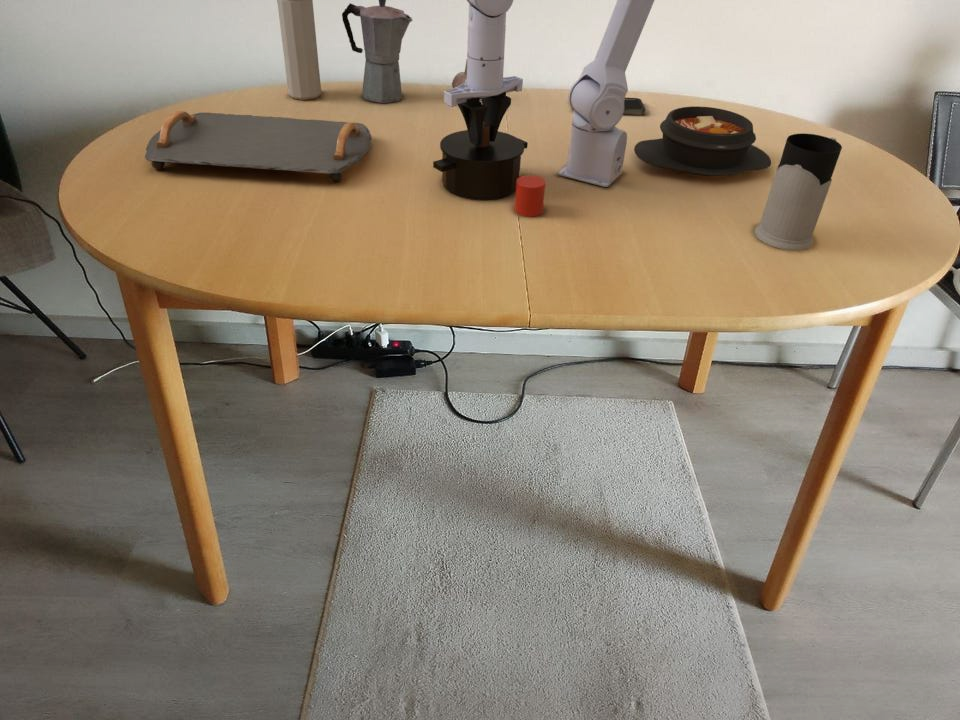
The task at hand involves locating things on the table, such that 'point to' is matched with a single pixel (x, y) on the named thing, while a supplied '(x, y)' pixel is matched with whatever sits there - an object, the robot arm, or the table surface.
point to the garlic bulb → (460, 78)
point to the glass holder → (798, 191)
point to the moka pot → (380, 49)
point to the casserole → (704, 143)
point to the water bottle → (300, 48)
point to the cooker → (479, 178)
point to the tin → (529, 195)
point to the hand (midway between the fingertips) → (482, 141)
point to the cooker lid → (482, 147)
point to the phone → (633, 106)
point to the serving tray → (259, 143)
